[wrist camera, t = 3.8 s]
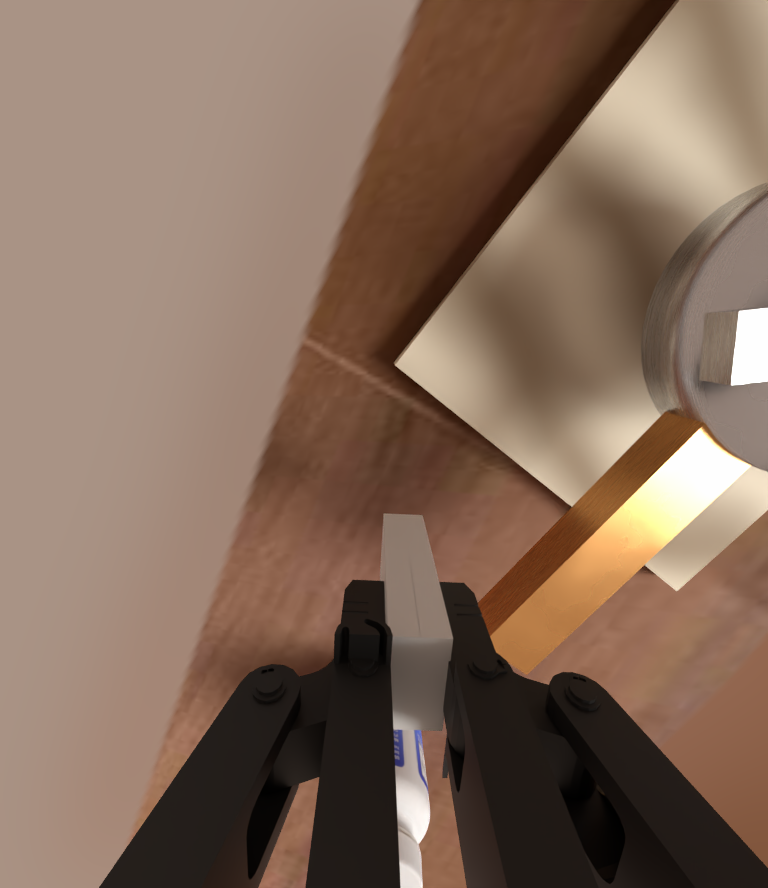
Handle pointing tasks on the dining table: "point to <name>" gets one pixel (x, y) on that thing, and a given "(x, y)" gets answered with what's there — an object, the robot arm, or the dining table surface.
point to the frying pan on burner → (659, 436)
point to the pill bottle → (410, 804)
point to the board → (608, 268)
